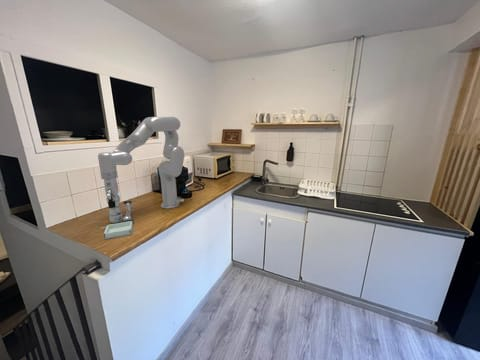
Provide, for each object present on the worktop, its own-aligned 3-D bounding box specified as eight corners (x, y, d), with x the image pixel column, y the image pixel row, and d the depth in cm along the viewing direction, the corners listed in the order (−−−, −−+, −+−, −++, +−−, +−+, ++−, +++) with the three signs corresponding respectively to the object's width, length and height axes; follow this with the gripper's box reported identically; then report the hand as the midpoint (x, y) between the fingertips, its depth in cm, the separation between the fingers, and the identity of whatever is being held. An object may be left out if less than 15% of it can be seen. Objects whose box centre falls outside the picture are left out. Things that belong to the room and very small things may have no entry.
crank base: (134, 220, 117) (133, 217, 117) (133, 225, 112) (133, 221, 111) (101, 225, 111) (101, 222, 110) (99, 230, 105) (98, 227, 105)
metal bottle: (113, 219, 118) (108, 187, 113) (125, 219, 119) (120, 187, 114) (107, 224, 112) (101, 190, 107) (120, 224, 112) (114, 190, 108)
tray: (132, 225, 111) (132, 221, 110) (131, 234, 101) (130, 229, 100) (108, 230, 106) (107, 224, 105) (104, 239, 97) (103, 234, 96)
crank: (131, 220, 112) (129, 207, 110) (122, 222, 110) (120, 209, 108) (133, 211, 124) (131, 199, 122) (124, 212, 123) (123, 201, 121)
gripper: (114, 178, 102) (119, 209, 106) (119, 171, 118) (123, 199, 122) (97, 179, 99) (102, 211, 103) (104, 172, 115) (108, 200, 119)
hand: (113, 204), depth 112 cm, fingers open, 9 cm apart
